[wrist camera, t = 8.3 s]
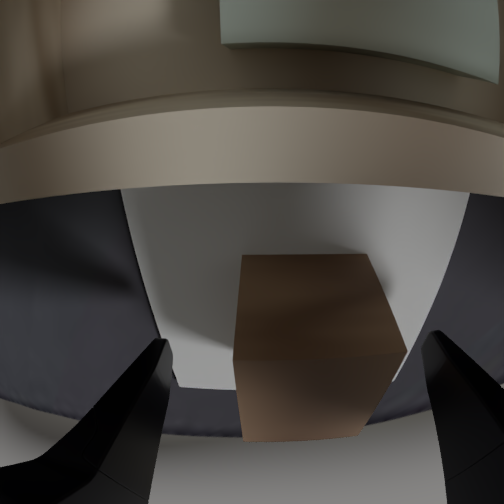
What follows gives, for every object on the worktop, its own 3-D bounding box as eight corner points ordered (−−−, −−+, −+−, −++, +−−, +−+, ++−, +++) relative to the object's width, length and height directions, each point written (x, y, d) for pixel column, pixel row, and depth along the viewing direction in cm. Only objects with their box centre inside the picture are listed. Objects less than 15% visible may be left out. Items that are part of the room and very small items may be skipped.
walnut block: (366, 253, 10) (407, 351, 6) (342, 351, 12) (357, 435, 9) (241, 254, 10) (232, 360, 6) (247, 354, 12) (243, 441, 9)
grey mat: (469, 172, 8) (473, 175, 8) (392, 376, 14) (393, 381, 14) (120, 166, 8) (116, 169, 8) (180, 381, 15) (179, 386, 14)
